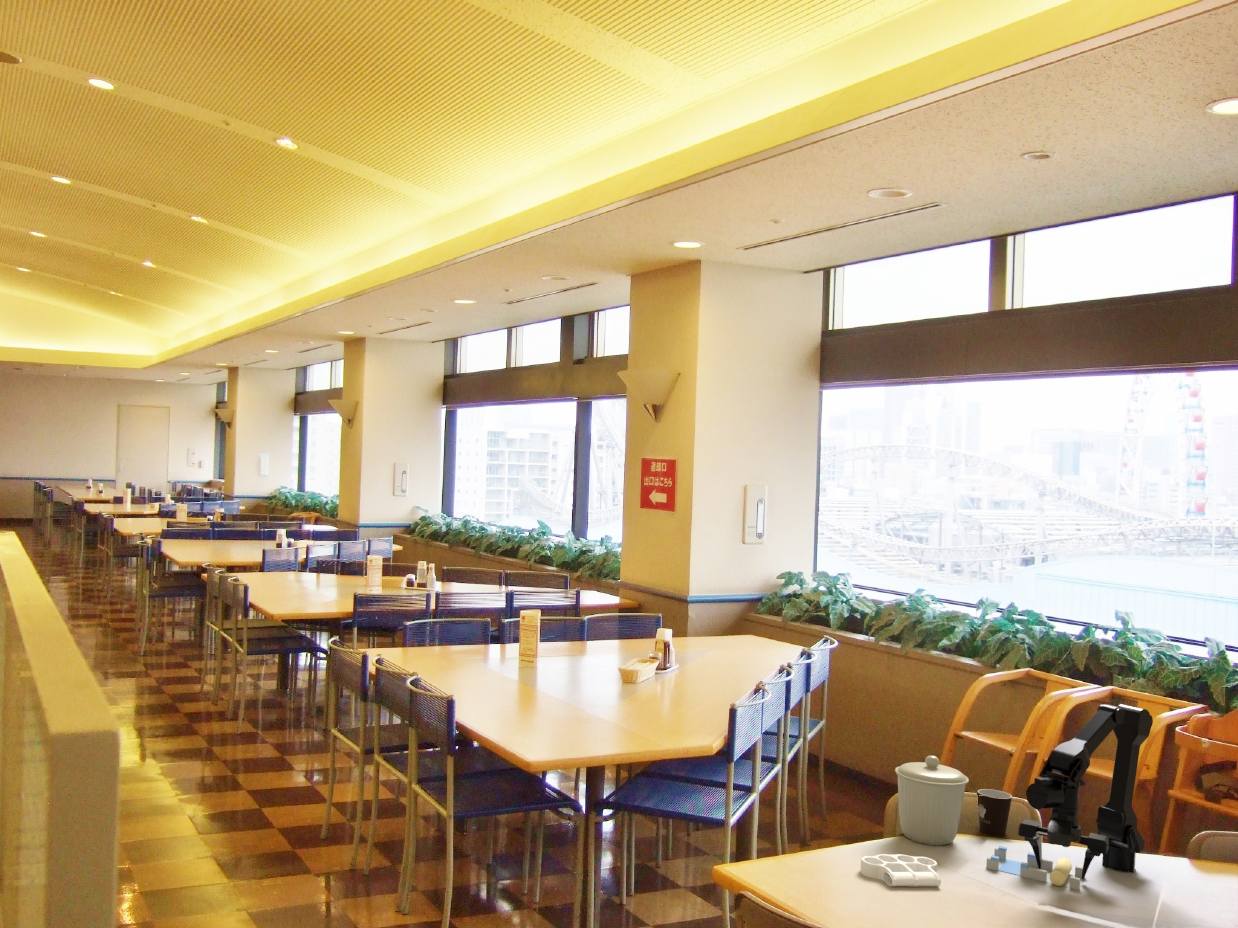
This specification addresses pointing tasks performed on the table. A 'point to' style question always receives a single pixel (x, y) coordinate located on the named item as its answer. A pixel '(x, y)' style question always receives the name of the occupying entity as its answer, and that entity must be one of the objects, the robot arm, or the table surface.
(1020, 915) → the table surface
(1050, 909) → the table surface
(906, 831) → the canister
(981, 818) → the coffee mug
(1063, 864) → the cream capsule cylinder
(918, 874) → the white brass knuckles
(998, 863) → the toy block layout
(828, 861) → the table surface
